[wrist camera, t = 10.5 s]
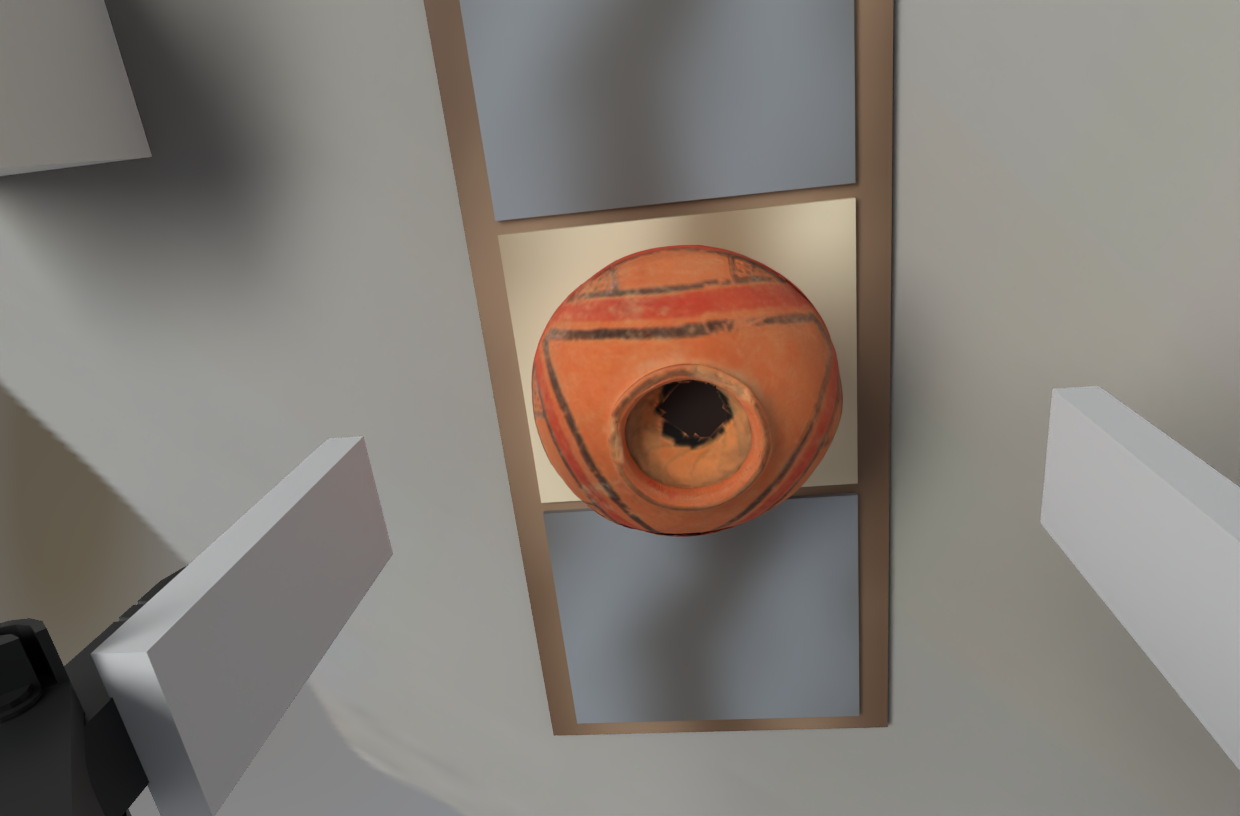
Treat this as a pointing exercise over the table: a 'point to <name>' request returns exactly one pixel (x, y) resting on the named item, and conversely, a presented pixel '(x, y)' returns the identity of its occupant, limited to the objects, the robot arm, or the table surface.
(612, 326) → the pot
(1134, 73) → the table surface
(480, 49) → the board
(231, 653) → the robot arm
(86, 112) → the die
